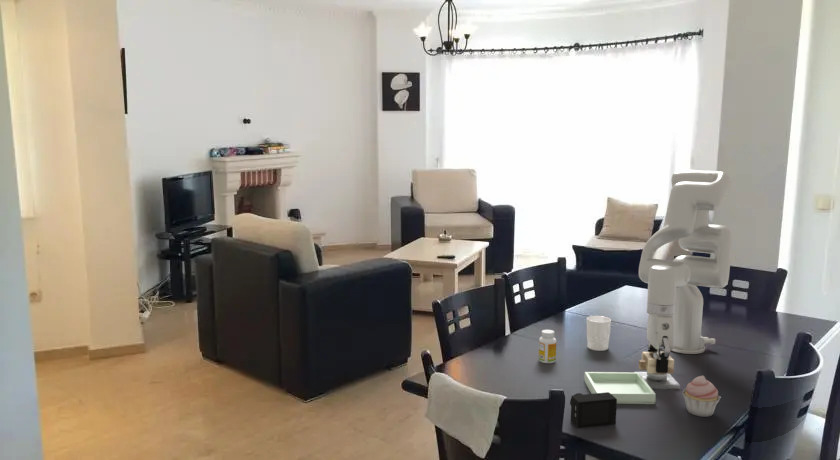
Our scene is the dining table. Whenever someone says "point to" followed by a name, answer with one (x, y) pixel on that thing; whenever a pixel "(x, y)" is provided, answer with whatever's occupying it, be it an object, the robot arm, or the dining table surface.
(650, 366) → the wooden square frame
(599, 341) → the white cup
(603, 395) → the digital camera
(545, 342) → the supplement bottle
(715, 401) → the cupcake
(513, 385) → the dining table surface
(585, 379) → the tray
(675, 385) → the grey stand
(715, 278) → the robot arm
